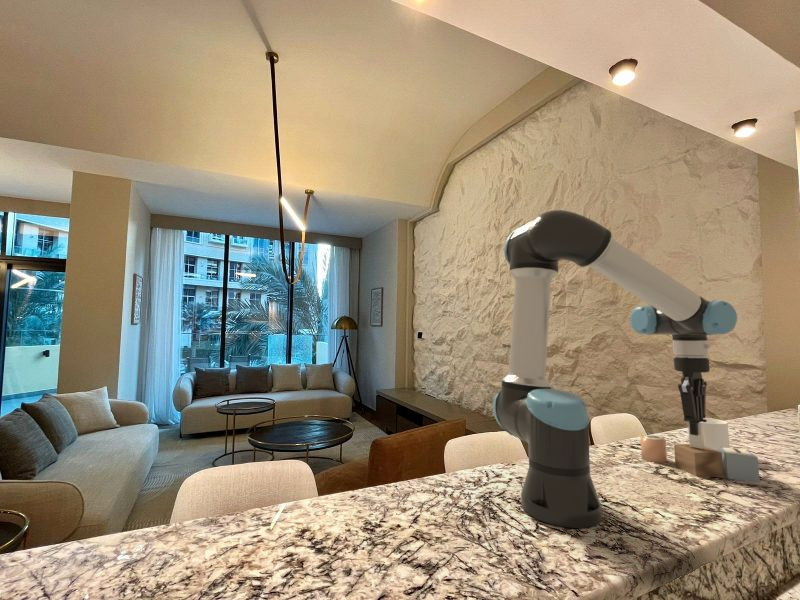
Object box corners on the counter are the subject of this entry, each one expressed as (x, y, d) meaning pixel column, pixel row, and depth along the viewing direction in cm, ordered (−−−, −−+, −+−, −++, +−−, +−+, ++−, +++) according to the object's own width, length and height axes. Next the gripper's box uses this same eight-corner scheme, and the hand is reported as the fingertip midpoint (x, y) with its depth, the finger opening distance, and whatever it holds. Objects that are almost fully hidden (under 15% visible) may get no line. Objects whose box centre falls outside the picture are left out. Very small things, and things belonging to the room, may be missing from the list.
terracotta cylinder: (647, 462, 105) (646, 438, 106) (637, 455, 111) (636, 433, 111) (671, 464, 104) (669, 439, 104) (660, 457, 110) (659, 434, 110)
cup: (688, 453, 113) (686, 419, 114) (708, 448, 118) (706, 415, 119) (722, 462, 105) (719, 425, 106) (742, 455, 111) (739, 420, 112)
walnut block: (696, 477, 95) (694, 452, 95) (675, 467, 102) (674, 444, 102) (723, 477, 95) (721, 452, 95) (701, 467, 102) (699, 444, 102)
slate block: (728, 478, 94) (726, 451, 94) (719, 470, 99) (718, 445, 100) (759, 482, 91) (757, 455, 92) (749, 474, 96) (747, 448, 97)
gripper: (699, 358, 94) (705, 455, 92) (716, 356, 102) (723, 446, 100) (664, 356, 100) (670, 447, 98) (683, 355, 108) (689, 439, 106)
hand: (696, 447), depth 99 cm, fingers closed
